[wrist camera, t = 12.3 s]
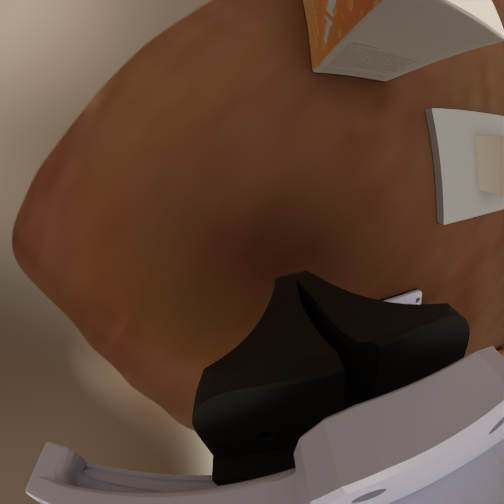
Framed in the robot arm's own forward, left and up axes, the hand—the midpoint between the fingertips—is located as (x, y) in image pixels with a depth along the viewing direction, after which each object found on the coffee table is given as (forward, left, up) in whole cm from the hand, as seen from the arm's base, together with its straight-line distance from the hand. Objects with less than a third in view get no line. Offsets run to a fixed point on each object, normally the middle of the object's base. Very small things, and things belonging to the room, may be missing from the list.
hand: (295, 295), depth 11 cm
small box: (+15, -9, -10) cm, 20 cm away
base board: (+3, -23, -9) cm, 25 cm away
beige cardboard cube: (+3, -23, -8) cm, 25 cm away
